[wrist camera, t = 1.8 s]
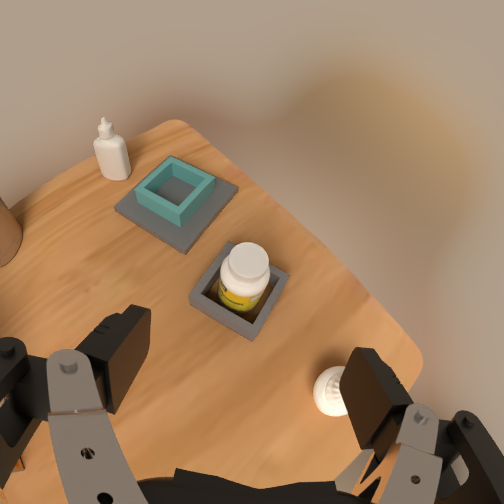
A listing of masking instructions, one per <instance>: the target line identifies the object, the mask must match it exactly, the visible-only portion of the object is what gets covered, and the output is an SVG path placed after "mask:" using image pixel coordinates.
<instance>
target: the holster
mask: <svg viewBox="0 0 504 504" xmlns="http://www.w3.org/2000/svg"><path fill="white" fill-rule="evenodd" d="M235 246H236V245H235V244H233V243H231V242H230V241H228V242H227V244H226V245H225V246H224V248H223V249H222V250H221V252H220V253H219V255H218V256H217V257H216V259H215V260H214V261H213V263H212V264H211V266H210V267H209V268H208V270H207V271H206V272H205V274H204V275H203V277H202V278H201V279H200V281H199V282H198V284H197V285H196V286H195V288H194V289H193V290H192V292H191V293H190V295H189V301H190V305H192V306H193V307H195V308H197V309H198V310H200V311H201V312H203V313H205V314H206V315H208V316H209V317H211V318H213V319H214V320H216V321H218V322H219V323H221V324H223V325H224V326H226V327H228V328H230V329H231V330H233V331H235V332H236V333H238V334H240V335H242V336H243V337H245V338H247V339H249V340H250V341H253V340H254V339H255V337H256V336H257V334H258V333H259V331H260V329H261V327H262V326H263V324H264V322H265V320H266V319H267V317H268V315H269V313H270V311H271V310H272V308H273V306H274V304H275V302H276V301H277V299H278V297H279V295H280V293H281V291H282V290H283V288H284V286H285V284H286V282H287V280H288V279H289V277H290V275H289V274H287V273H285V272H283V271H282V270H280V269H278V268H276V267H274V266H273V265H271V264H269V269H270V278H269V282H268V284H270V285H272V286H274V289H273V291H272V292H271V294H270V296H269V298H268V299H267V301H266V303H265V305H264V306H263V308H262V310H261V312H260V313H259V315H258V317H257V318H256V320H255V322H254V324H251V323H249V322H247V321H246V320H244V319H242V318H240V317H239V316H237V315H235V314H234V313H232V312H230V311H228V310H227V309H225V308H223V307H222V306H220V305H218V304H217V303H215V302H213V301H212V300H210V299H208V298H207V297H205V296H206V294H207V293H208V291H209V290H210V288H211V287H212V286H213V284H214V283H215V281H216V280H217V278H218V277H219V275H220V269H221V265H222V263H223V261H224V259H225V258H226V257H227V256H228V255H229V254H230V252H231V250H232V249H233V248H234V247H235Z"/></svg>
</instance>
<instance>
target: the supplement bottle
mask: <svg viewBox="0 0 504 504" xmlns="http://www.w3.org/2000/svg"><path fill="white" fill-rule="evenodd" d="M269 278H270V269H269V258H268V255H267V253H266V251H265V250H264V249H263V248H262V247H261V246H259V245H257V244H255V243H251V242H244V243H240V244H238V245H236V246H235V247H234V248H233V249H232V250H231V252H230V254H229V255H228V256H227V257H226V258H225V259H224V261H223V263H222V265H221V269H220V277H219V286H218V297H219V300H220V302H221V304H222V305H223V306H224V307H225V308H226V309H227V310H229V311H231V312H234V313H245V312H248V311H250V310H252V309H253V308H254V307H255V306H256V305H257V303H258V302H259V300H260V298H261V296H262V294H263V292H264V290H265V288H266V286H267V284H268V282H269Z"/></svg>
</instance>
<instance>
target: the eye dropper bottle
mask: <svg viewBox="0 0 504 504" xmlns="http://www.w3.org/2000/svg"><path fill="white" fill-rule="evenodd" d="M98 132H99V136H98V137H97V138H96V139H95V141H94V143H93V145H94V150H95V153H96V157H97V160H98V163H99V167H100V170H101V173H102V175H103V176H104V177H105V178H107V179H110V180H114V181H121V180H126V179H127V178H128V177H129V175H130V174H131V166H130V162H129V157H128V152H127V147H126V143H125V141H124V139H123V138H122V137H121V136H119V135H117V134H115V133H114V129H113V124H112V122H110V121H107V120H106V118H105V117H102V118H101V124H100V125H99V126H98Z"/></svg>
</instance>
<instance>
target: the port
mask: <svg viewBox="0 0 504 504" xmlns="http://www.w3.org/2000/svg"><path fill="white" fill-rule="evenodd" d="M237 191H238V187H236V186H234V185H232V184H230V183H228V182H226V181H224V180H221V179H219V178H217V177H215V176H213V175H211V174H209V173H207V172H205V171H203V170H201V169H199V168H196V167H194V166H192V165H190V164H188V163H186V162H184V161H181V160H179V159H177V158H175V157H173V156H171V155H170V156H169V157H168V158H166V159H165V160H164V161H163V162H162V163H161V164H159V165H158V166H157V167H156V168H155V169H154V170H153V171H151V172H150V173H149V174H148V175H147V176H146V177H145V178H144V179H143V180H142V181H140V182H139V183H138V184H137V185H136V186H135V187H134V188H133V189H132V190H131V191H130V192H129V193H128V194H127V195H126V196H125V197H124V198H123V199H122V200H121V201H119V202H118V203H117V204H116V205H115V206H114V209H115V211H116V212H118V213H119V214H121V215H122V216H124V217H125V218H127V219H128V220H130V221H132V222H133V223H135V224H136V225H138V226H139V227H141V228H143V229H144V230H146V231H147V232H149V233H151V234H152V235H154V236H155V237H157V238H159V239H160V240H162V241H163V242H165V243H167V244H168V245H170V246H172V247H173V248H175V249H176V250H178V251H180V252H181V253H183V254H185V255H186V254H187V253H188V251H189V250H190V249H191V248H192V246H193V245H194V244H195V243H196V241H197V240H198V239H199V238H200V236H201V235H202V234H203V233H204V231H205V230H206V229H207V228H208V227H209V225H210V224H211V223H212V222H213V220H214V219H215V218H216V217H217V216H218V214H219V213H220V212H221V211H222V210H223V208H224V207H225V206H226V205H227V204H228V202H229V201H230V200H231V199H232V198H233V197H234V195H235V194H236V193H237Z"/></svg>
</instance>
